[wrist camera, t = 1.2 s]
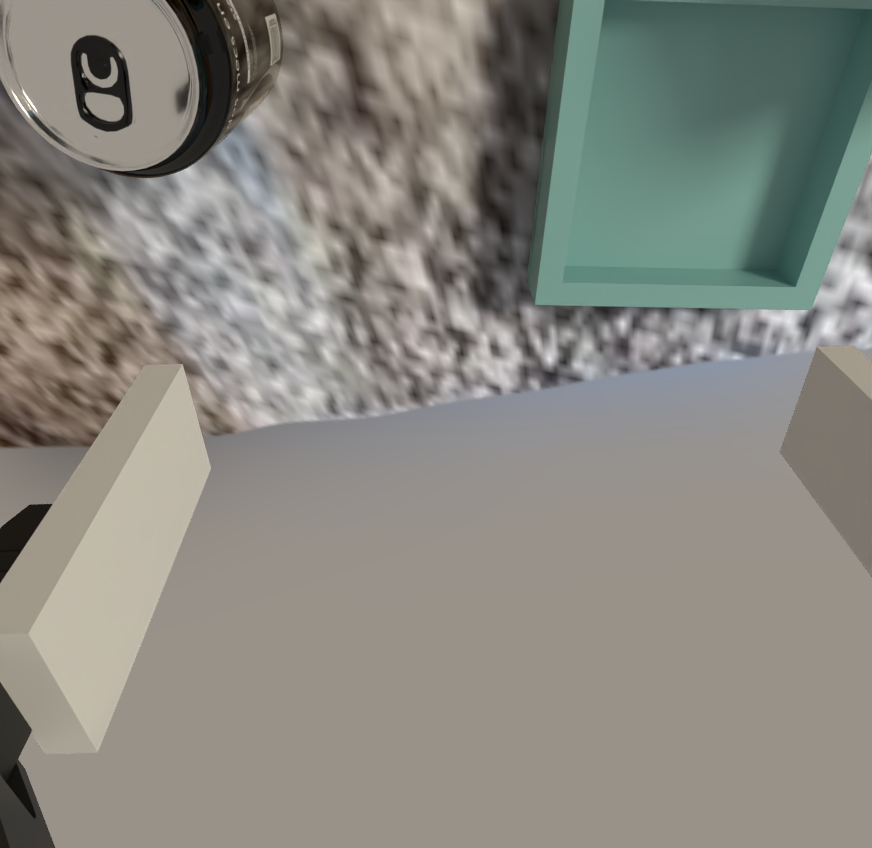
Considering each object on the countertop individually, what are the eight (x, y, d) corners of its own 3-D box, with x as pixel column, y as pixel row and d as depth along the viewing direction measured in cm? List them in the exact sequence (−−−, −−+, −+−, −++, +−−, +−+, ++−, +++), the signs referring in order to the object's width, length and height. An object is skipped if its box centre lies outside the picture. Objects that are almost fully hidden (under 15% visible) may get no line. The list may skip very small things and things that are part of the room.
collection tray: (564, -40, 27) (579, -41, 25) (894, -27, 28) (940, -26, 25) (526, 281, 35) (534, 305, 33) (783, 286, 36) (810, 310, 33)
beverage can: (132, 105, 30) (-5, 175, 20) (113, -83, 26) (-69, -110, 16) (286, 128, 31) (225, 207, 21) (289, -52, 27) (217, -59, 17)
